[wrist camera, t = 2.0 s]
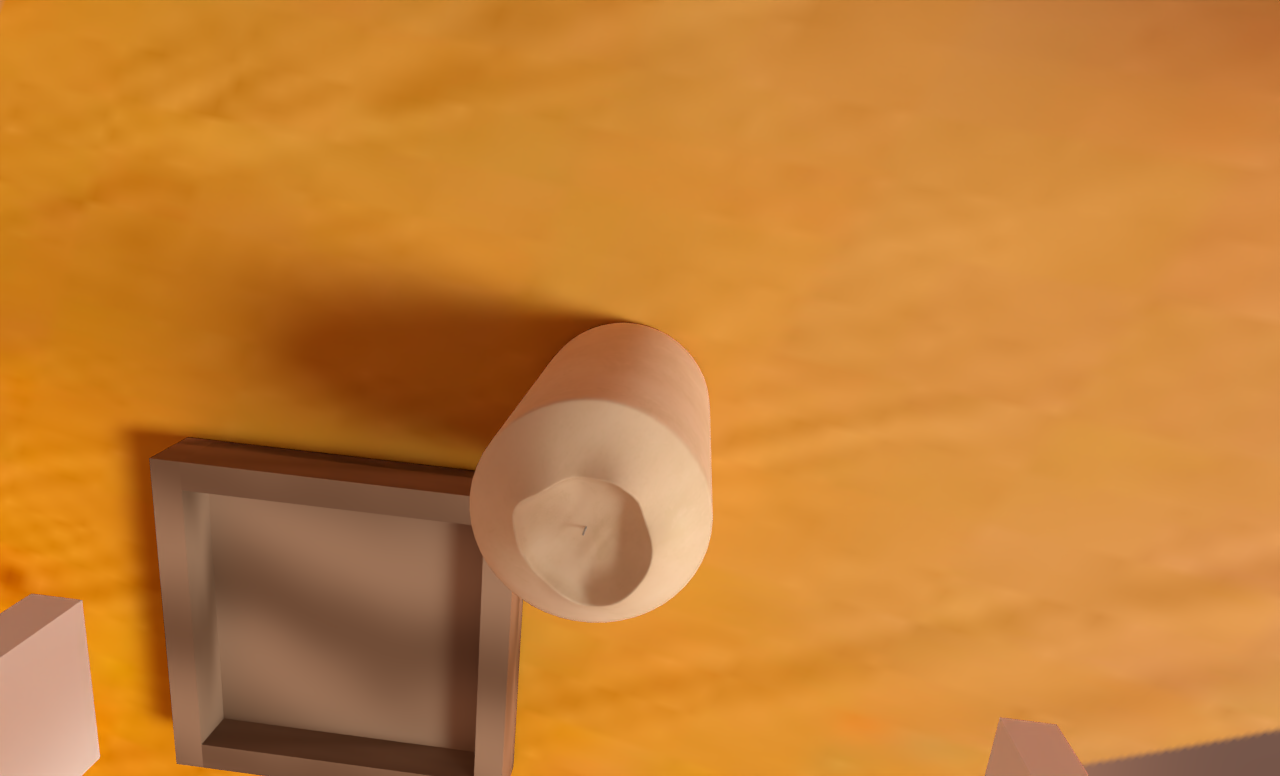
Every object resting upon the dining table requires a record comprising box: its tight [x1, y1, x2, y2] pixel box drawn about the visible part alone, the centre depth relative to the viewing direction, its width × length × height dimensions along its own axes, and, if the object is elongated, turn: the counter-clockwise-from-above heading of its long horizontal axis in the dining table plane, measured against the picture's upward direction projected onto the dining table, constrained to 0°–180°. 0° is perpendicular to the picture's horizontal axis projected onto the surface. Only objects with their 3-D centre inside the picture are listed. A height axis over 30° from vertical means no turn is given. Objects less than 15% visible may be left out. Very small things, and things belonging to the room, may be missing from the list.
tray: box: [149, 437, 523, 776], centre depth 28 cm, size 12×12×2 cm
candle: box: [469, 323, 713, 622], centre depth 21 cm, size 6×6×10 cm
